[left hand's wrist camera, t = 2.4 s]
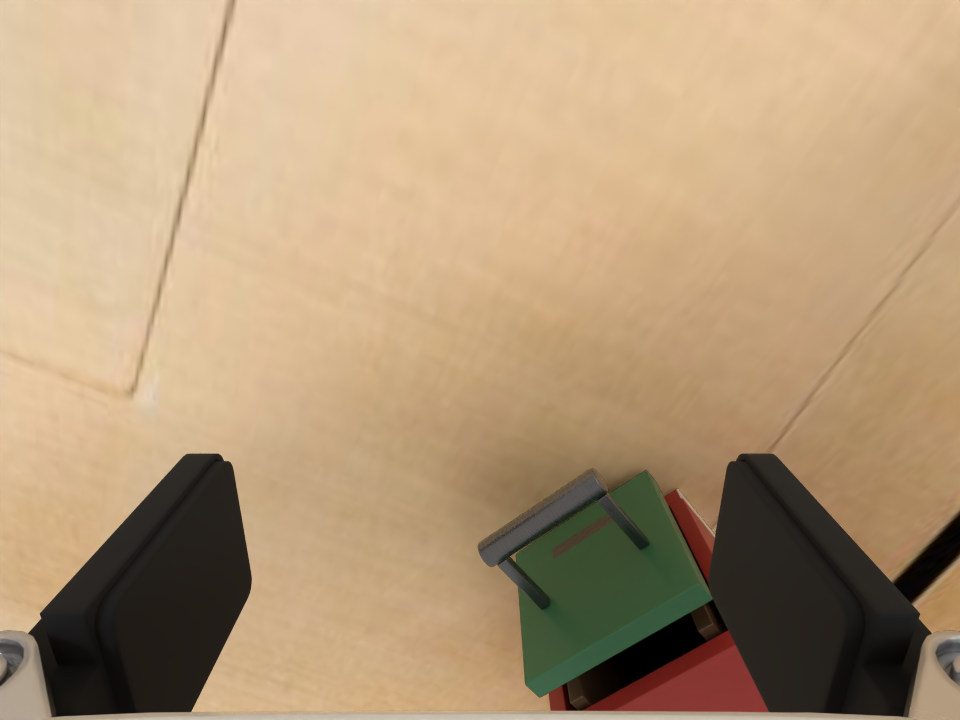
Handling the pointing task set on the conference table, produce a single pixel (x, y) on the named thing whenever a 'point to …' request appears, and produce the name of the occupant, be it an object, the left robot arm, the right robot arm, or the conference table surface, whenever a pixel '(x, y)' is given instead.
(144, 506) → the left robot arm
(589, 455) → the conference table surface
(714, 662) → the cabinet
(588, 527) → the drawer
